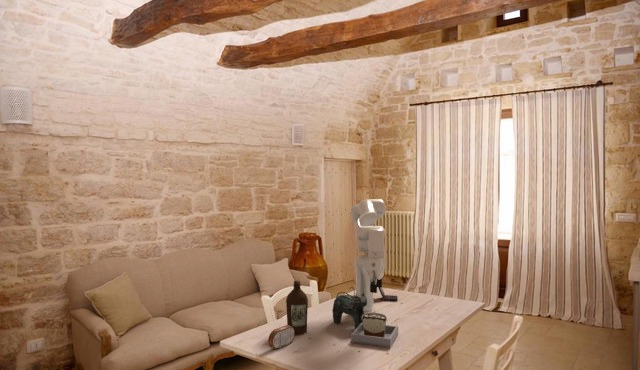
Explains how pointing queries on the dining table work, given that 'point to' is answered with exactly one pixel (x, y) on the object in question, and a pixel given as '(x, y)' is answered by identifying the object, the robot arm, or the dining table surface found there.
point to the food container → (374, 324)
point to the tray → (386, 342)
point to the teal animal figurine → (349, 307)
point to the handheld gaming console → (388, 296)
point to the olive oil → (297, 309)
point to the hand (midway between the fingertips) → (376, 289)
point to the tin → (281, 336)
